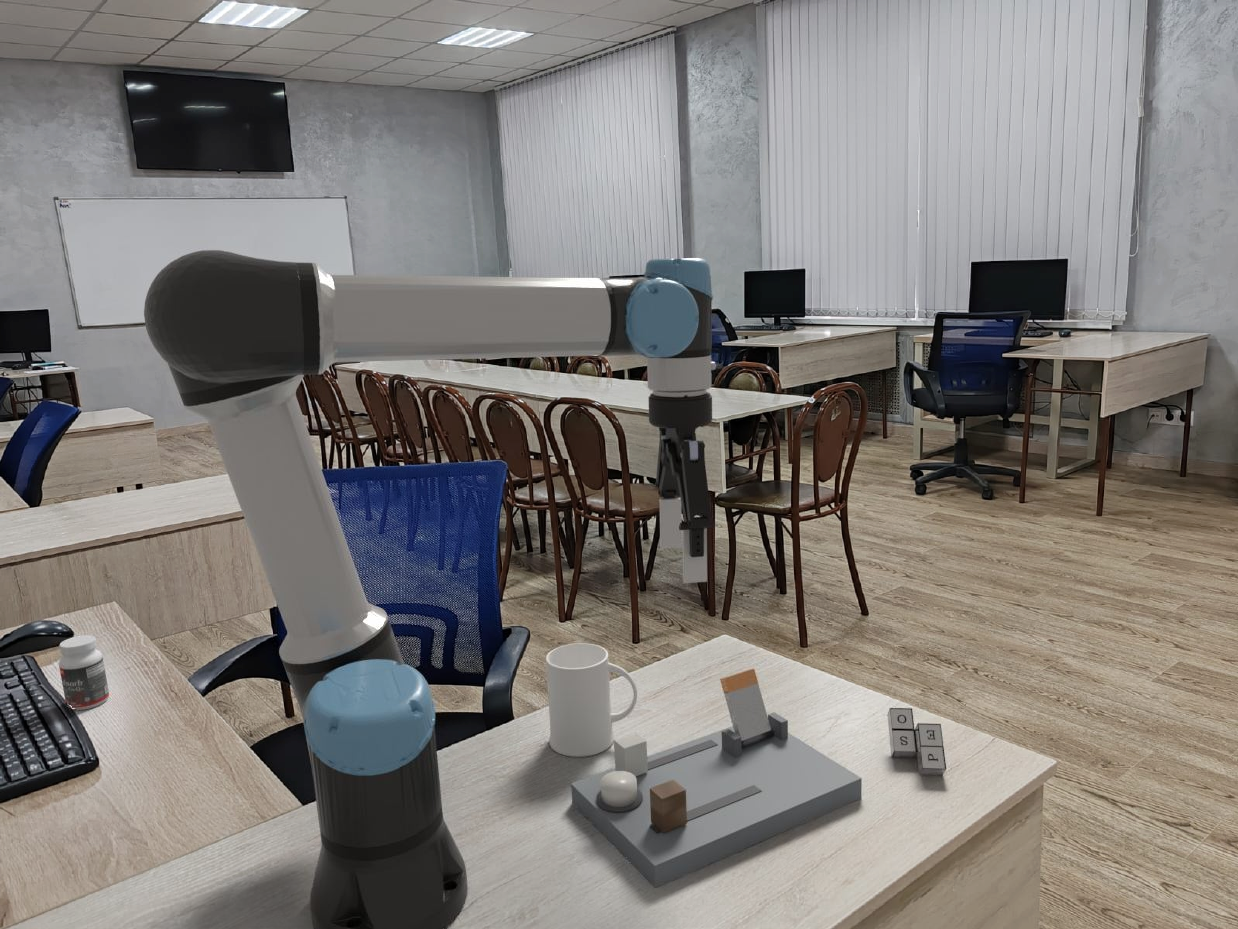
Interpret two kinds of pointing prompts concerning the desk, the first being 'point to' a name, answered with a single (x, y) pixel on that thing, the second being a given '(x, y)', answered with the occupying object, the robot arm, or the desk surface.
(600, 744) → the mug
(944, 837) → the desk surface
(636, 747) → the slider
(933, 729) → the building blocks
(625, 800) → the button
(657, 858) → the panel
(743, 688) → the lever
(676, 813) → the slider
